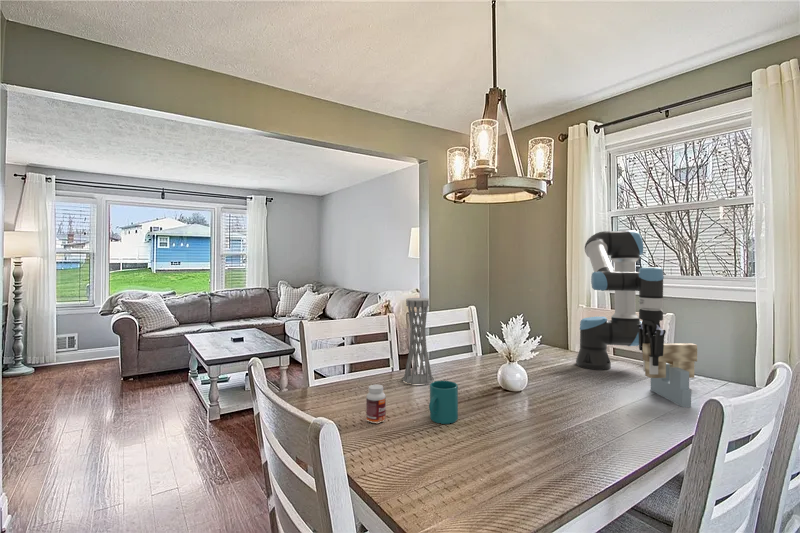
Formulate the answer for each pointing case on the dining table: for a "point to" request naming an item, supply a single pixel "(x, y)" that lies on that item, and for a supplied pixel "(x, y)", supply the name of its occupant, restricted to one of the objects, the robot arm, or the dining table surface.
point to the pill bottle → (375, 404)
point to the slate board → (673, 386)
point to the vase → (418, 343)
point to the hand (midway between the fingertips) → (650, 372)
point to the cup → (443, 402)
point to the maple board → (672, 358)
